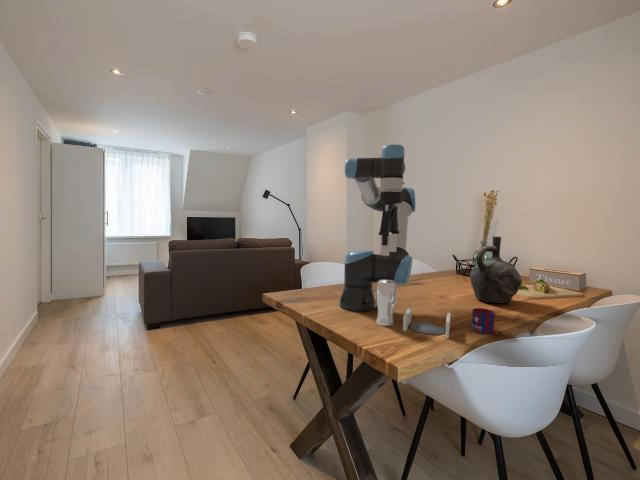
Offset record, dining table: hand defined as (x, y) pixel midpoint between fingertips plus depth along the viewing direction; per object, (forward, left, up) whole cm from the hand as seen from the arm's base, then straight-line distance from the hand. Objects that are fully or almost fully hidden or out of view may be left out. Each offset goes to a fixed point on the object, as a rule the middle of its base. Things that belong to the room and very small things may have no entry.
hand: (388, 253), depth 111 cm
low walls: (+14, +1, -25) cm, 28 cm away
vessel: (+37, +55, -25) cm, 70 cm away
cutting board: (+61, +90, -26) cm, 112 cm away
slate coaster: (+14, +1, -25) cm, 28 cm away
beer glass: (0, 0, -25) cm, 25 cm away
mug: (+32, +9, -25) cm, 41 cm away
